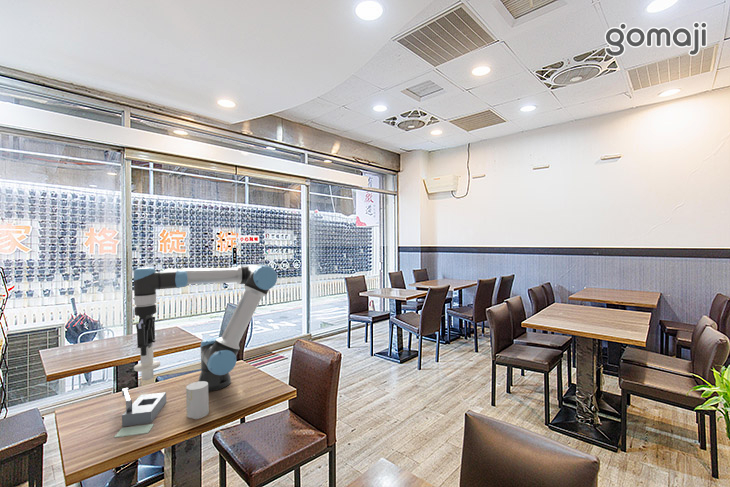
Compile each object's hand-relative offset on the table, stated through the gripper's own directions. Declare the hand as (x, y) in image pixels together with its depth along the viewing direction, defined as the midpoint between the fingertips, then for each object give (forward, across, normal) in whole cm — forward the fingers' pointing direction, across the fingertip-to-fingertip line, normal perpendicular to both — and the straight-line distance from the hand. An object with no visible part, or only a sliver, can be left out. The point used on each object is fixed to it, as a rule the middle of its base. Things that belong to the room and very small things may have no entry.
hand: (147, 360), depth 139 cm
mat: (+22, +14, 0) cm, 26 cm away
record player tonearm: (+17, +1, -7) cm, 19 cm away
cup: (+22, +6, +20) cm, 31 cm away
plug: (+7, 0, 0) cm, 7 cm away
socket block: (+22, +1, -1) cm, 22 cm away
